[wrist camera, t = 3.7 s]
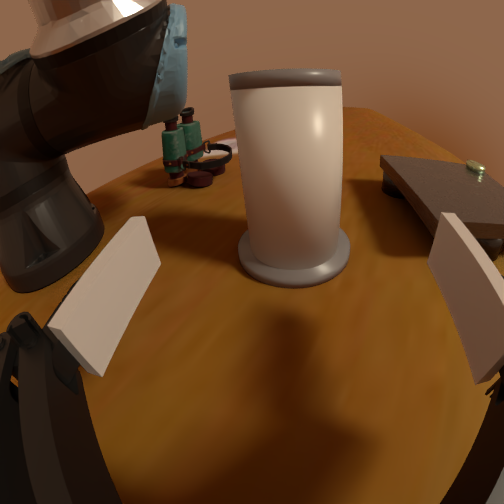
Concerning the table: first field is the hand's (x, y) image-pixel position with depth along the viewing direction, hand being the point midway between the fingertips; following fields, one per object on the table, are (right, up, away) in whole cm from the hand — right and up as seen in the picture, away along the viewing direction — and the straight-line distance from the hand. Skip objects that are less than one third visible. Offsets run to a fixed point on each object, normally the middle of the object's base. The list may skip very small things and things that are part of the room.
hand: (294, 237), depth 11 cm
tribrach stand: (+21, +3, +13) cm, 25 cm away
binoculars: (-9, +10, +28) cm, 31 cm away
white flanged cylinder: (+2, 0, +11) cm, 11 cm away
